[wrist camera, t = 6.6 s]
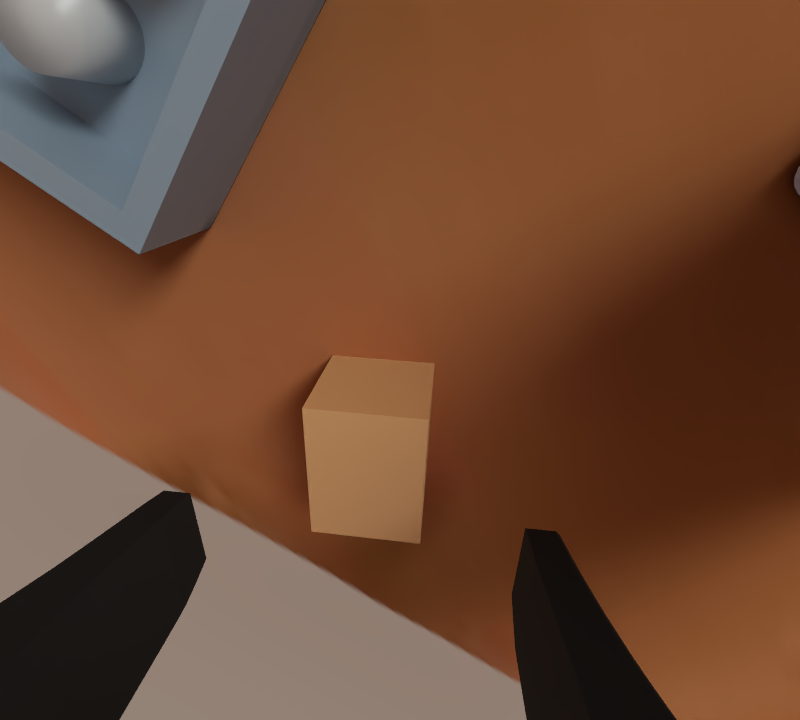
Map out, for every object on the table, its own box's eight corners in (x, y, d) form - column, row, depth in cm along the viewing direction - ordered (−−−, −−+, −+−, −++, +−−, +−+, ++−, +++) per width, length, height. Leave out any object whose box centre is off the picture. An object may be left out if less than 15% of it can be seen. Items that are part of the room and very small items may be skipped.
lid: (614, 293, 12) (671, 348, 9) (556, 521, 16) (582, 618, 13) (179, 265, 13) (90, 306, 10) (220, 485, 17) (165, 566, 14)
